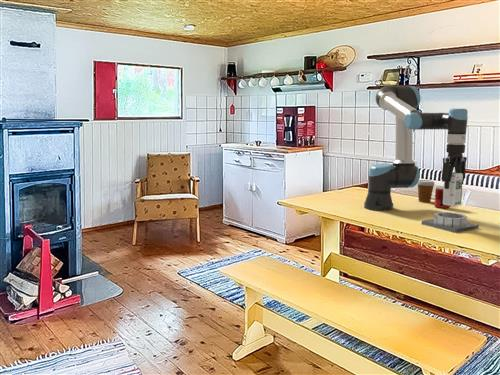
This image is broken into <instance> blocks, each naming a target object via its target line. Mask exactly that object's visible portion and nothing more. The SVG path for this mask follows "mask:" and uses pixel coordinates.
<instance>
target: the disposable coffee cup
mask: <svg viewBox="0 0 500 375" xmlns="http://www.w3.org/2000/svg"><path fill="white" fill-rule="evenodd" d="M416 185H417V192H418V194H417V195H418V202H420V203H425V204H427V203H431V200H432V195H433V191H434V187H435V181H434V180H432V179H431V180H430V179H419V181H418V183H417V184H416Z"/></svg>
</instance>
